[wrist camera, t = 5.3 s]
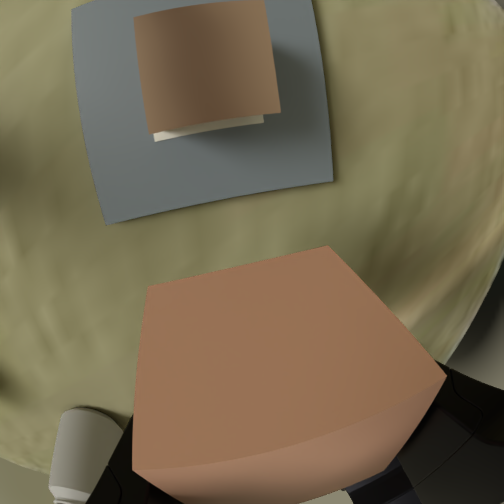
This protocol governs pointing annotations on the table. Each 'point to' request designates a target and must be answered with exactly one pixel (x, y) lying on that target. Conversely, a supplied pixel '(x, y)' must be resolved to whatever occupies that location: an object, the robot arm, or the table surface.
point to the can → (81, 454)
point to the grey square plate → (200, 135)
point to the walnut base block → (205, 64)
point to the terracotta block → (274, 383)
